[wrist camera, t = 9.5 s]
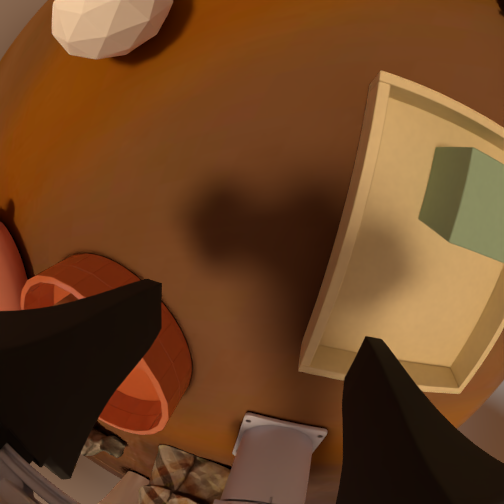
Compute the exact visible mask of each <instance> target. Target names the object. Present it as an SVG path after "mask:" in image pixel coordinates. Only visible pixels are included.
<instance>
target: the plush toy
mask: <svg viewBox="0 0 504 504" xmlns="http://www.w3.org/2000/svg"><path fill="white" fill-rule="evenodd" d="M158 447H159V451H158V454H157V457H156V460H155V464H154V467H153V470H152V474H151V477H150V481H149V484H148V485H143V486H141V487H140V489H139V491H138V492H139V499H138V501H139V504H213V502H214V500H215V499H217V500H220V499H221V496H222V493H223V490H224V488H225V485H226V482H227V479H228V476H229V474H230V471H231V470H229V469H227V468H226V467H223V466H221V465H218V464H216V463H213V462H210V461H208V460H205V459H202V458H199V457H197V456H195V455H193V454H189V453H187V452H184V451H182V450H179V449H177V448H174V447H170V446H167V445H159V446H158Z"/></svg>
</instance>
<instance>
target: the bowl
mask: <svg viewBox="0 0 504 504" xmlns="http://www.w3.org/2000/svg"><path fill="white" fill-rule="evenodd" d="M136 281H140V279H139V278H138V277H137V276H136V275H134V274H133V273H131V272H130V271H129V270H127V269H126V268H125V267H123V266H121V265H119V264H118V263H116V262H114V261H112V260H110V259H108V258H105V257H103V256H99V255H95V254H87V253H83V254H76V255H73V256H70V257H68V258H67V259H64V260H62V261H60V262H59V263H57V264H55V265H53V266H51V267H49V268H48V269H46V270H44V271H42V272H41V273H39V274H37V275H35V276H33V277H32V278H30V279H28V280H27V282H26V283H25V285H24V287H23V289H22V292H21V302H20V306H21V310H26V309H36V308H43V307H49V306H53V305H54V304H56V303H57V302H59V301H60V300H62V299H63V298H65V297H66V296H67V295H69V294H70V293H71V294H73V295H74V296H75V297H76V298H78V299H82V298H86V297H89V296H93V295H96V294H99V293H102V292H105V291H109V290H112V289H115V288H118V287H121V286H124V285H127V284H130V283H133V282H136ZM161 311H162V329H161V331H160V332H159V334H158V336H157V338H156V339H155V341H154V343H153V344H152V346H151V347H150V349H149V350H148V352H147V353H146V354H145V355H144V357H143V358H142V359H141V360H140V362H139V363H138V364H137V365H136V366H135V368H134V369H133V370H132V371H131V372H130V374H129V375H128V376H127V377H126V379H125V380H124V381H123V382H122V383H121V385H120V386H119V387H118V388H117V390H116V391H115V392H114V394H113V395H112V396H111V398H110V399H109V401H108V403H107V404H106V406H105V408H104V409H103V411H102V413H101V414H100V416H99V418H98V419H100V420H101V421H103V422H105V423H107V424H109V425H111V426H113V427H115V428H118V429H120V430H123V431H126V432H130V433H134V434H139V435H146V434H155V433H157V432H159V431H161V430H163V429H164V428H165V426H166V424H167V423H168V421H169V419H170V417H171V416H172V414H173V412H174V410H175V409H176V407H177V405H178V403H179V402H180V400H181V398H182V396H183V394H184V393H185V391H186V389H187V387H188V385H189V383H190V380H191V374H192V362H191V357H190V352H189V349H188V346H187V343H186V340H185V338H184V336H183V334H182V331H181V330H180V328H179V326H178V324H177V323H176V321H175V319H174V318H173V316H172V315H171V313H170V312H169V310H168V309H167V308H166V306H165V305H164V304H163V303H162V301H161Z"/></svg>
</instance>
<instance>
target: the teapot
mask: <svg viewBox="0 0 504 504" xmlns="http://www.w3.org/2000/svg"><path fill="white" fill-rule="evenodd" d="M26 282H27V276H26V272H25V269H24V265H23V262H22V259H21V257H20V254H19V251H18V249H17V247H16V244H15V242H14V240H13V238H12V236H11V235H10V233H9V231H8V230H7V228H6V227H5V226H4V224H3V223H2V222H1V221H0V311H16V310H21V306H20V302H21V292H22V289H23V287H24V285H25V283H26Z"/></svg>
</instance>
